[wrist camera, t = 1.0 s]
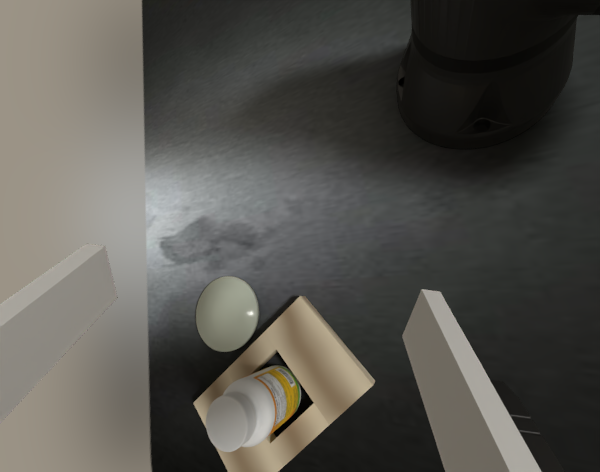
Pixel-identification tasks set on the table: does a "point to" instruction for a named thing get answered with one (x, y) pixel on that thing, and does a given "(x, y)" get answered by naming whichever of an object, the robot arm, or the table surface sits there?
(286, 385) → the supplement bottle
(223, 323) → the pale green oval pebble
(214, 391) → the socket plate
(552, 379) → the table surface
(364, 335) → the table surface
